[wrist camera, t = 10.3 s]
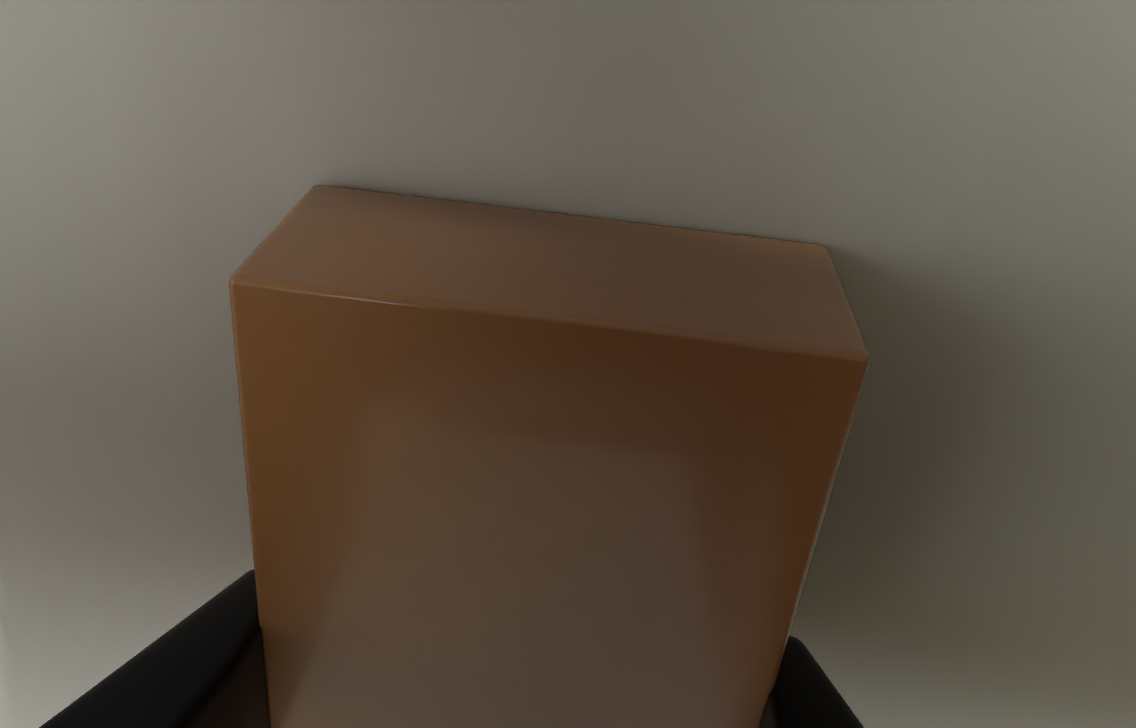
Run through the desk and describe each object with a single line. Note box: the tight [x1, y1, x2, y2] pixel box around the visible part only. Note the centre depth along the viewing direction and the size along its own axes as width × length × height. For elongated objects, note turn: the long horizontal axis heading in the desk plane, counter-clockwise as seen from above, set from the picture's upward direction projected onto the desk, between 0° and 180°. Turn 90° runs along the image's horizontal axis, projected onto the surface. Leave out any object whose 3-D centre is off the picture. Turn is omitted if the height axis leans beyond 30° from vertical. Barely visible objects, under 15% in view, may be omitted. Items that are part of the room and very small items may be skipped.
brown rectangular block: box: [229, 185, 870, 728], centre depth 9 cm, size 4×8×2 cm, turn 174°
